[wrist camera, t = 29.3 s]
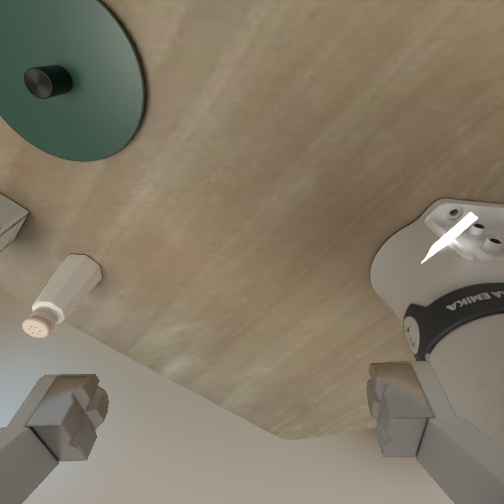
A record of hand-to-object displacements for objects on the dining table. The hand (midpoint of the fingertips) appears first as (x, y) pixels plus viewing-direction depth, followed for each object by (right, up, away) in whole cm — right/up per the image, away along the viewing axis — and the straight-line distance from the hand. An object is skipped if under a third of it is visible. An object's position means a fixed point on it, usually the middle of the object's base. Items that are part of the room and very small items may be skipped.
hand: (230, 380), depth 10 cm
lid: (-17, +20, +22) cm, 34 cm away
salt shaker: (-22, +2, +35) cm, 41 cm away
